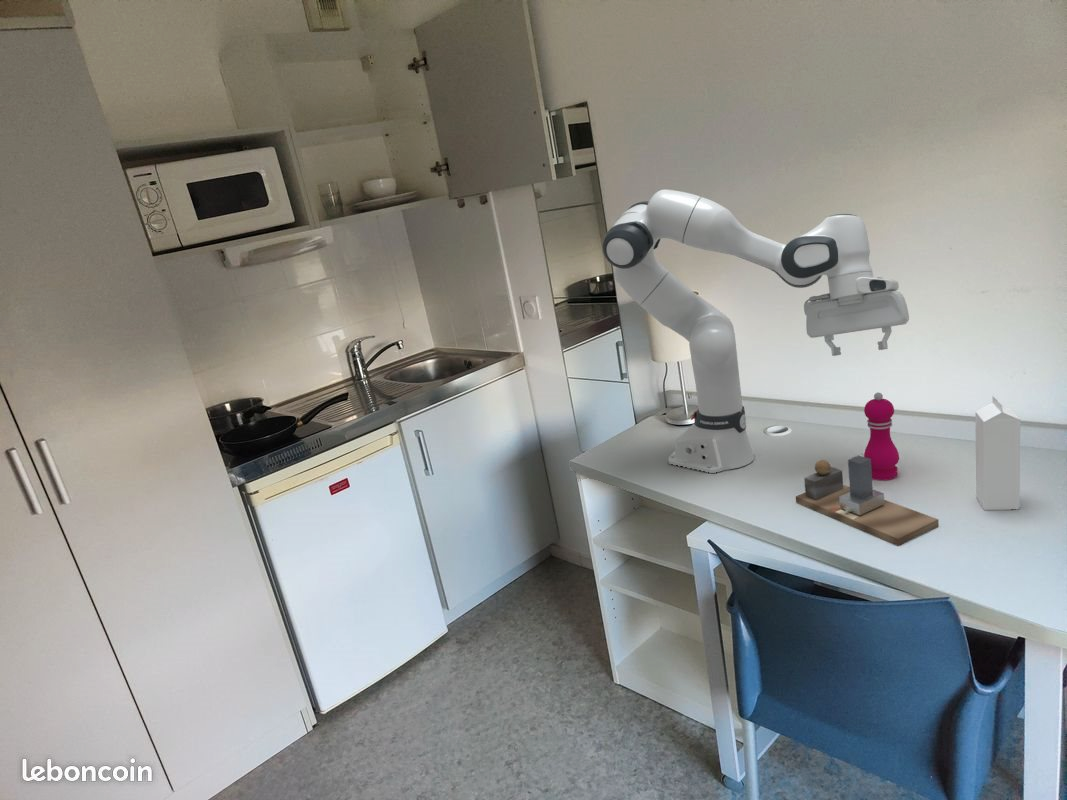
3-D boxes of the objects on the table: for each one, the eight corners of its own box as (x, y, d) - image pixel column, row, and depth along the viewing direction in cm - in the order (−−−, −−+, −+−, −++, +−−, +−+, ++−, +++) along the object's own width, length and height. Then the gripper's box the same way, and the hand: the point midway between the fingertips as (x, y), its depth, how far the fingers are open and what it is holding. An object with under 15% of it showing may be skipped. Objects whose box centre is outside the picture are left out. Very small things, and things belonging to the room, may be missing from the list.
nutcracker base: (796, 502, 153) (792, 464, 150) (832, 486, 157) (830, 449, 154) (898, 545, 130) (896, 502, 127) (938, 526, 133) (937, 483, 131)
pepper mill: (904, 479, 154) (900, 395, 148) (869, 482, 155) (864, 399, 150) (894, 467, 160) (891, 386, 155) (861, 469, 162) (856, 389, 157)
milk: (984, 510, 136) (983, 406, 130) (976, 497, 141) (975, 396, 135) (1019, 509, 134) (1020, 403, 128) (1009, 496, 139) (1010, 393, 133)
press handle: (836, 509, 143) (832, 463, 140) (864, 496, 146) (861, 451, 143) (855, 517, 139) (852, 469, 136) (884, 504, 142) (882, 457, 139)
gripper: (798, 297, 152) (805, 359, 152) (899, 278, 139) (908, 346, 139) (807, 298, 157) (814, 358, 157) (906, 280, 144) (914, 345, 144)
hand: (859, 352), depth 148 cm, fingers open, 8 cm apart
